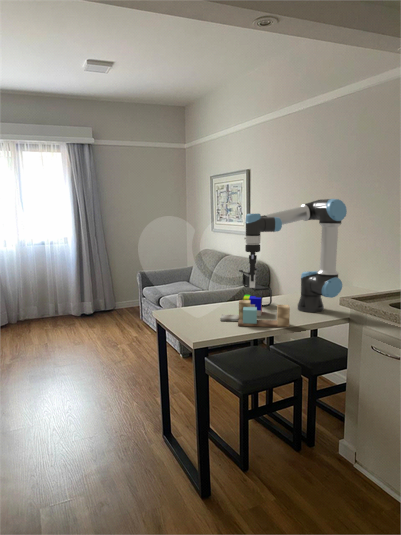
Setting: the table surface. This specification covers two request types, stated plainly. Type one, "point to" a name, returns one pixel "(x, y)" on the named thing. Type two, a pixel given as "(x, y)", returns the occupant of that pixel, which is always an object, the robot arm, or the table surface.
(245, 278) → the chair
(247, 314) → the cube
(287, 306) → the lane front
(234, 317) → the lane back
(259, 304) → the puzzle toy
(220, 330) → the table surface
